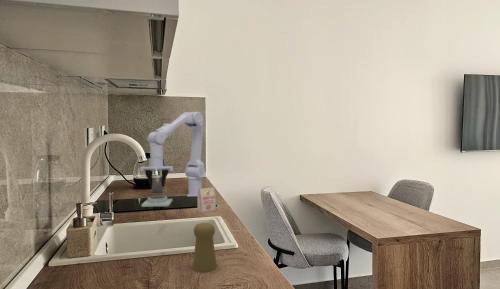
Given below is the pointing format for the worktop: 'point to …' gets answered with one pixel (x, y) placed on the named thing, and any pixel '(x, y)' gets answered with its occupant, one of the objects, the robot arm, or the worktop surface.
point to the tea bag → (206, 200)
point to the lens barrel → (157, 184)
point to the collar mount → (157, 199)
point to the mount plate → (157, 203)
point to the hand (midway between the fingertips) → (157, 186)
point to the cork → (204, 248)
